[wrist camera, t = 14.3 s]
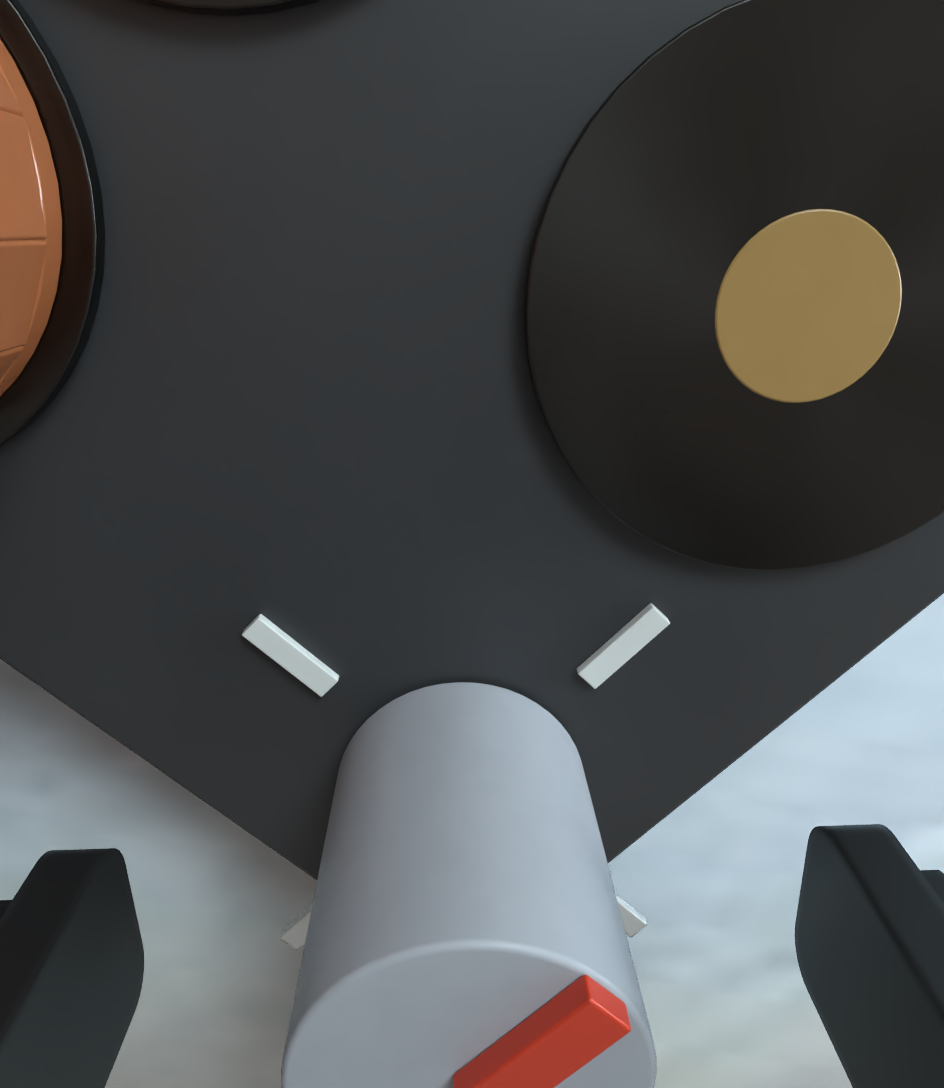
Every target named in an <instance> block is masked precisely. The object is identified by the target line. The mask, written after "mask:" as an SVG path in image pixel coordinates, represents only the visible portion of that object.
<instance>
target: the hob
mask: <svg viewBox="0 0 944 1088" xmlns="http://www.w3.org/2000/svg"><path fill="white" fill-rule="evenodd" d="M739 1H741V0H320V1H317V2H315V3H311V4H307V5H303V6H299V7H295V8H291V9H287V10H283V11H278V12H274V13H263V14H251V15H240V16H225V15H209V14H194V13H187V12H183V11H178V10H173V9H169V8H164V7H159V6H155V5H150V4H147V3H144V2H141V1H139V0H18V2H19V3H20V4H21V6H22V7H23V8H24V10H25V11H26V12H27V13H28V15H29V16H30V17H31V19H32V21H33V22H34V24H35V25H36V27H37V29H38V30H39V32H40V34H41V35H42V37H43V39H44V40H45V42H46V44H47V45H48V47H49V48H50V50H51V52H52V53H53V55H54V57H55V58H56V60H57V62H58V64H59V66H60V68H61V71H62V73H63V75H64V77H65V79H66V81H67V83H68V85H69V88H70V90H71V92H72V94H73V96H74V98H75V100H76V102H77V105H78V108H79V111H80V114H81V117H82V120H83V123H84V125H85V128H86V131H87V134H88V137H89V140H90V143H91V146H92V150H93V155H94V159H95V164H96V168H97V173H98V177H99V182H100V186H101V193H102V203H103V214H104V224H105V254H104V274H103V280H102V286H101V292H100V298H99V304H98V309H97V312H96V315H95V319H94V322H93V325H92V328H91V331H90V335H89V338H88V341H87V343H86V345H85V347H84V350H83V352H82V354H81V356H80V358H79V360H78V362H77V364H76V366H75V368H74V370H73V372H72V374H71V375H70V377H69V378H68V380H67V381H66V383H65V384H64V386H63V387H62V389H61V390H60V391H59V393H58V394H57V396H56V397H55V399H54V400H53V401H52V402H51V403H50V404H49V406H48V407H47V408H46V409H45V410H44V411H43V412H42V413H41V414H40V415H39V416H38V417H37V418H36V419H35V420H34V421H33V423H32V424H30V425H29V426H28V427H27V428H25V429H24V430H23V431H21V432H20V433H19V434H18V435H16V436H15V437H14V438H12V439H11V440H10V441H9V442H7V443H6V444H4V445H3V446H1V447H0V659H1V660H3V661H4V662H6V663H7V664H9V665H10V666H11V667H13V668H14V669H16V670H17V671H19V672H20V673H21V674H23V675H24V676H26V677H27V678H29V679H30V680H31V681H33V682H34V683H36V684H37V685H39V686H40V687H41V688H43V689H44V690H46V691H47V692H49V693H50V694H51V695H53V696H54V697H56V698H57V699H59V700H60V701H61V702H63V703H64V704H66V705H67V706H69V707H70V708H71V709H73V710H74V711H76V712H77V713H79V714H80V715H81V716H83V717H84V718H86V719H87V720H89V721H90V722H91V723H93V724H94V725H96V726H97V727H99V728H100V729H101V730H103V731H104V732H106V733H107V734H109V735H110V736H111V737H113V738H114V739H116V740H117V741H119V742H120V743H121V744H123V745H124V746H126V747H127V748H129V749H130V750H131V751H133V752H134V753H136V754H137V755H139V756H140V757H141V758H143V759H144V760H146V761H147V762H149V763H150V764H151V765H153V766H154V767H156V768H157V769H159V770H160V771H161V772H163V773H164V774H166V775H167V776H169V777H170V778H172V779H173V780H174V781H176V782H177V783H179V784H180V785H182V786H183V787H184V788H186V789H187V790H189V791H190V792H192V793H193V794H194V795H196V796H197V797H199V798H200V799H202V800H203V801H204V802H206V803H207V804H209V805H210V806H212V807H213V808H214V809H216V810H217V811H219V812H220V813H222V814H223V815H224V816H226V817H227V818H229V819H230V820H232V821H233V822H234V823H236V824H237V825H239V826H240V827H242V828H243V829H244V830H246V831H247V832H249V833H250V834H252V835H253V836H254V837H256V838H257V839H259V840H260V841H262V842H263V843H264V844H266V845H267V846H269V847H270V848H272V849H273V850H274V851H276V852H277V853H279V854H280V855H282V856H283V857H284V858H286V859H287V860H289V861H290V862H292V863H293V864H294V865H296V866H297V867H299V868H300V869H302V870H303V871H304V872H306V873H307V874H309V875H310V876H312V877H313V878H314V879H316V880H317V879H318V874H319V869H320V864H321V858H322V853H323V848H324V843H325V838H326V833H327V828H328V822H329V817H330V812H331V807H332V802H333V797H334V792H335V786H336V781H337V776H338V771H339V767H340V763H341V760H342V757H343V754H344V752H345V750H346V748H347V746H348V744H349V742H350V741H351V739H352V738H353V736H354V735H355V733H356V732H357V730H358V729H359V728H360V727H361V726H362V725H363V724H364V723H365V722H366V720H367V719H368V718H369V717H371V716H372V715H373V714H374V713H376V712H377V711H378V710H379V709H380V708H382V707H383V706H385V705H386V704H388V703H390V702H391V701H393V700H394V699H396V698H398V697H400V696H403V695H405V694H407V693H409V692H412V691H415V690H418V689H421V688H424V687H427V686H432V685H437V684H443V683H454V682H472V683H482V684H489V685H494V686H497V687H501V688H505V689H508V690H511V691H513V692H516V693H518V694H521V695H523V696H525V697H527V698H528V699H530V700H532V701H534V702H536V703H537V704H539V705H540V706H541V707H543V708H544V709H545V710H547V711H548V712H549V713H550V714H552V715H553V716H554V717H555V718H556V719H557V720H558V721H559V722H560V723H561V725H562V726H563V727H564V728H565V730H566V731H567V732H568V734H569V735H570V737H571V739H572V740H573V742H574V744H575V746H576V748H577V750H578V753H579V756H580V759H581V762H582V766H583V770H584V773H585V777H586V781H587V785H588V789H589V793H590V797H591V801H592V804H593V808H594V812H595V816H596V820H597V824H598V828H599V832H600V836H601V839H602V843H603V847H604V851H605V855H606V859H607V863H609V862H610V861H611V860H613V859H614V858H615V857H616V856H618V855H619V854H620V853H621V852H623V851H624V850H625V849H626V848H628V847H629V846H630V845H631V844H633V843H634V842H635V841H636V840H637V839H639V838H640V837H641V836H642V835H644V834H645V833H646V832H647V831H649V830H650V829H651V828H652V827H654V826H655V825H656V824H657V823H659V822H660V821H661V820H662V819H664V818H665V817H666V816H667V815H669V814H670V813H671V812H672V811H674V810H675V809H676V808H677V807H679V806H680V805H681V804H682V803H683V802H685V801H686V800H687V799H688V798H690V797H691V796H692V795H693V794H695V793H696V792H697V791H698V790H700V789H701V788H702V787H703V786H705V785H706V784H707V783H708V782H710V781H711V780H712V779H713V778H715V777H716V776H717V775H718V774H720V773H721V772H722V771H723V770H724V769H726V768H727V767H728V766H729V765H731V764H732V763H733V762H734V761H736V760H737V759H738V758H739V757H741V756H742V755H743V754H744V753H746V752H747V751H748V750H749V749H751V748H752V747H753V746H754V745H756V744H757V743H758V742H759V741H761V740H762V739H763V738H764V737H766V736H767V735H768V734H769V733H770V732H772V731H773V730H774V729H775V728H777V727H778V726H779V725H780V724H782V723H783V722H784V721H785V720H787V719H788V718H789V717H790V716H792V715H793V714H794V713H795V712H797V711H798V710H799V709H800V708H802V707H803V706H804V705H805V704H807V703H808V702H809V701H810V700H812V699H813V698H814V697H815V696H816V695H818V694H819V693H820V692H821V691H823V690H824V689H825V688H826V687H828V686H829V685H830V684H831V683H833V682H834V681H835V680H836V679H838V678H839V677H840V676H841V675H843V674H844V673H845V672H846V671H848V670H849V669H850V668H851V667H853V666H854V665H855V664H856V663H857V662H859V661H860V660H861V659H862V658H864V657H865V656H866V655H867V654H869V653H870V652H871V651H872V650H874V649H875V648H876V647H877V646H879V645H880V644H881V643H882V642H884V641H885V640H886V639H887V638H889V637H890V636H891V635H892V634H894V633H895V632H896V631H897V630H899V629H900V628H901V627H902V626H903V625H905V624H906V623H907V622H908V621H910V620H911V619H912V618H913V617H915V616H916V615H917V614H918V613H920V612H921V611H922V610H923V609H925V608H926V607H927V606H928V605H930V604H931V603H932V602H933V601H935V600H936V599H937V598H938V597H940V596H941V595H942V594H943V593H944V512H943V513H941V514H940V515H939V516H937V517H936V518H934V519H932V520H931V521H929V522H927V523H926V524H924V525H922V526H921V527H919V528H917V529H916V530H914V531H912V532H911V533H909V534H907V535H905V536H903V537H901V538H899V539H897V540H894V541H892V542H890V543H888V544H886V545H884V546H881V547H879V548H877V549H875V550H872V551H869V552H866V553H863V554H860V555H857V556H854V557H851V558H848V559H845V560H842V561H837V562H832V563H827V564H822V565H817V566H813V567H807V568H795V569H784V570H755V569H739V568H733V567H727V566H721V565H714V564H709V563H706V562H703V561H699V560H696V559H693V558H689V557H686V556H683V555H680V554H678V553H675V552H673V551H671V550H669V549H667V548H664V547H662V546H660V545H658V544H655V543H653V542H651V541H650V540H648V539H646V538H645V537H643V536H642V535H640V534H638V533H637V532H635V531H634V530H632V529H631V528H629V527H627V526H626V525H624V524H623V523H622V522H621V521H620V520H618V519H617V518H616V517H615V516H614V515H612V514H611V513H610V512H609V511H608V510H607V509H605V508H604V507H603V506H602V505H601V504H600V503H599V502H598V501H597V500H596V499H595V498H594V497H593V496H592V494H591V493H590V492H589V491H588V490H587V489H586V488H585V487H584V486H583V484H582V483H581V482H580V481H579V480H578V478H577V477H576V475H575V474H574V473H573V471H572V470H571V468H570V467H569V465H568V464H567V462H566V461H565V459H564V458H563V456H562V455H561V453H560V451H559V450H558V448H557V446H556V443H555V441H554V439H553V437H552V435H551V433H550V431H549V429H548V427H547V425H546V423H545V421H544V419H543V416H542V413H541V410H540V407H539V404H538V401H537V398H536V395H535V392H534V389H533V386H532V382H531V376H530V371H529V366H528V361H527V355H526V350H525V333H524V315H523V311H524V296H525V282H526V272H527V267H528V262H529V257H530V252H531V247H532V241H533V236H534V233H535V230H536V227H537V224H538V221H539V218H540V215H541V212H542V209H543V206H544V202H545V199H546V197H547V194H548V192H549V190H550V188H551V186H552V184H553V182H554V179H555V177H556V175H557V173H558V171H559V169H560V167H561V164H562V162H563V160H564V158H565V157H566V155H567V154H568V152H569V150H570V149H571V147H572V146H573V144H574V142H575V141H576V139H577V137H578V136H579V134H580V133H581V131H582V129H583V128H584V126H585V125H586V123H587V122H588V121H589V119H590V118H591V117H592V116H593V114H594V113H595V112H596V111H597V109H598V108H599V107H600V106H601V105H602V103H603V102H604V101H605V100H606V98H607V97H608V96H609V95H610V93H611V92H612V91H613V90H614V89H615V88H616V87H617V86H618V85H619V84H620V83H621V82H622V81H623V80H624V79H625V78H626V77H627V76H628V75H629V74H630V73H631V72H632V71H633V70H634V69H635V68H636V67H637V66H639V65H640V64H641V63H642V62H643V61H644V60H645V59H646V58H647V57H648V56H650V55H651V54H652V53H654V52H655V51H656V50H658V49H659V48H660V47H662V46H663V45H664V44H666V43H667V42H668V41H670V40H671V39H672V38H674V37H675V36H676V35H678V34H679V33H680V32H682V31H683V30H684V29H686V28H688V27H690V26H691V25H693V24H695V23H697V22H698V21H700V20H702V19H704V18H706V17H707V16H709V15H711V14H713V13H714V12H716V11H718V10H720V9H722V8H723V7H726V6H728V5H731V4H734V3H736V2H739ZM616 898H617V902H618V906H619V909H620V913H621V917H622V921H623V925H624V929H625V933H626V934H627V935H628V936H629V937H633V936H634V935H635V934H637V933H638V932H639V931H641V930H642V929H643V928H644V927H646V926H647V922H646V919H645V917H643V916H642V915H641V914H640V913H638V912H637V911H636V910H635V909H633V908H632V907H631V906H630V905H628V904H627V903H626V902H625V901H623V900H622V899H621V898H619V897H618V896H617V895H616ZM312 905H313V903H312V904H311V905H310V906H309V907H308V908H307V909H306V910H305V911H303V912H302V913H301V914H300V915H299V916H298V917H297V918H296V919H294V920H293V921H292V922H291V923H290V924H289V925H288V926H287V927H285V928H284V929H283V930H282V931H281V935H280V939H281V940H283V941H284V942H286V943H287V944H289V945H290V946H292V947H293V948H295V949H296V950H298V949H299V948H300V947H301V946H302V945H303V944H305V941H306V936H307V931H308V925H309V920H310V915H311V910H312Z"/></svg>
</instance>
